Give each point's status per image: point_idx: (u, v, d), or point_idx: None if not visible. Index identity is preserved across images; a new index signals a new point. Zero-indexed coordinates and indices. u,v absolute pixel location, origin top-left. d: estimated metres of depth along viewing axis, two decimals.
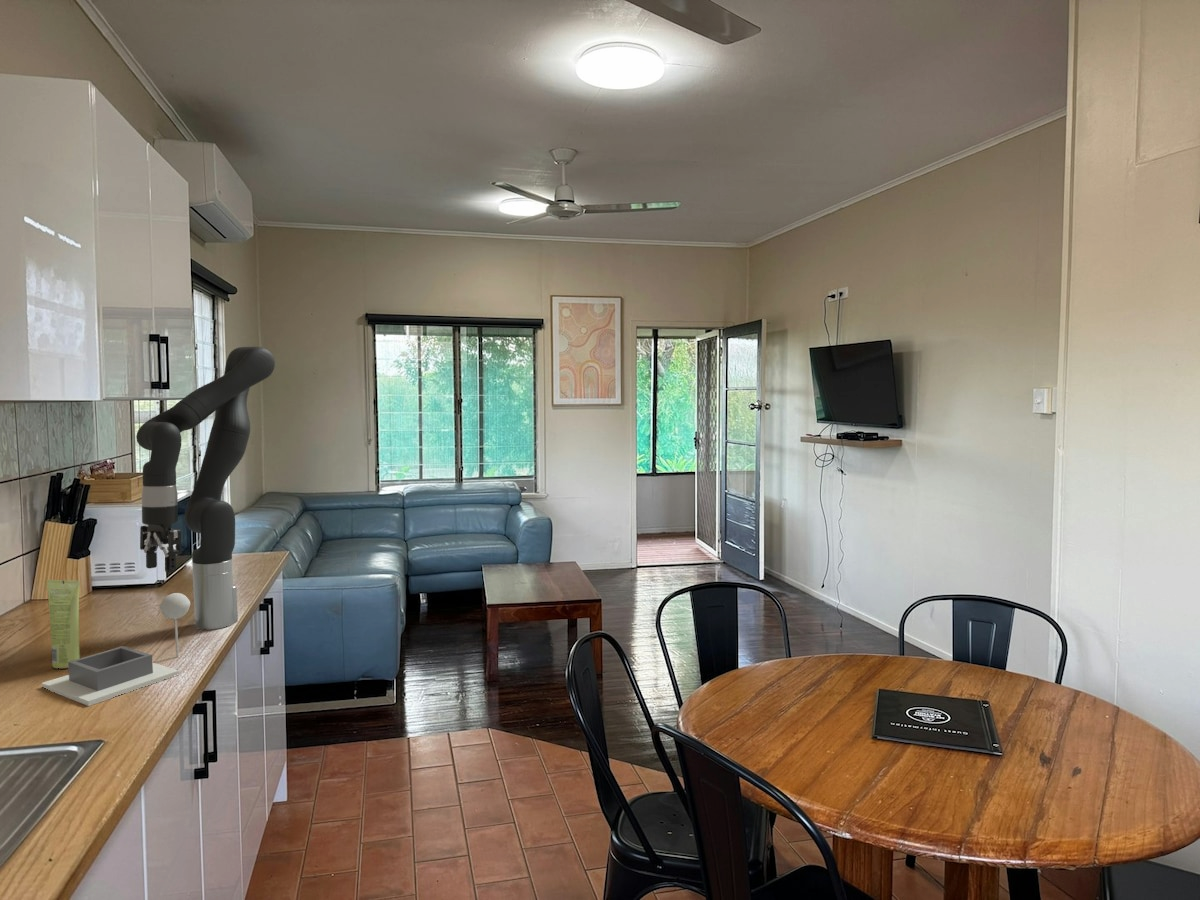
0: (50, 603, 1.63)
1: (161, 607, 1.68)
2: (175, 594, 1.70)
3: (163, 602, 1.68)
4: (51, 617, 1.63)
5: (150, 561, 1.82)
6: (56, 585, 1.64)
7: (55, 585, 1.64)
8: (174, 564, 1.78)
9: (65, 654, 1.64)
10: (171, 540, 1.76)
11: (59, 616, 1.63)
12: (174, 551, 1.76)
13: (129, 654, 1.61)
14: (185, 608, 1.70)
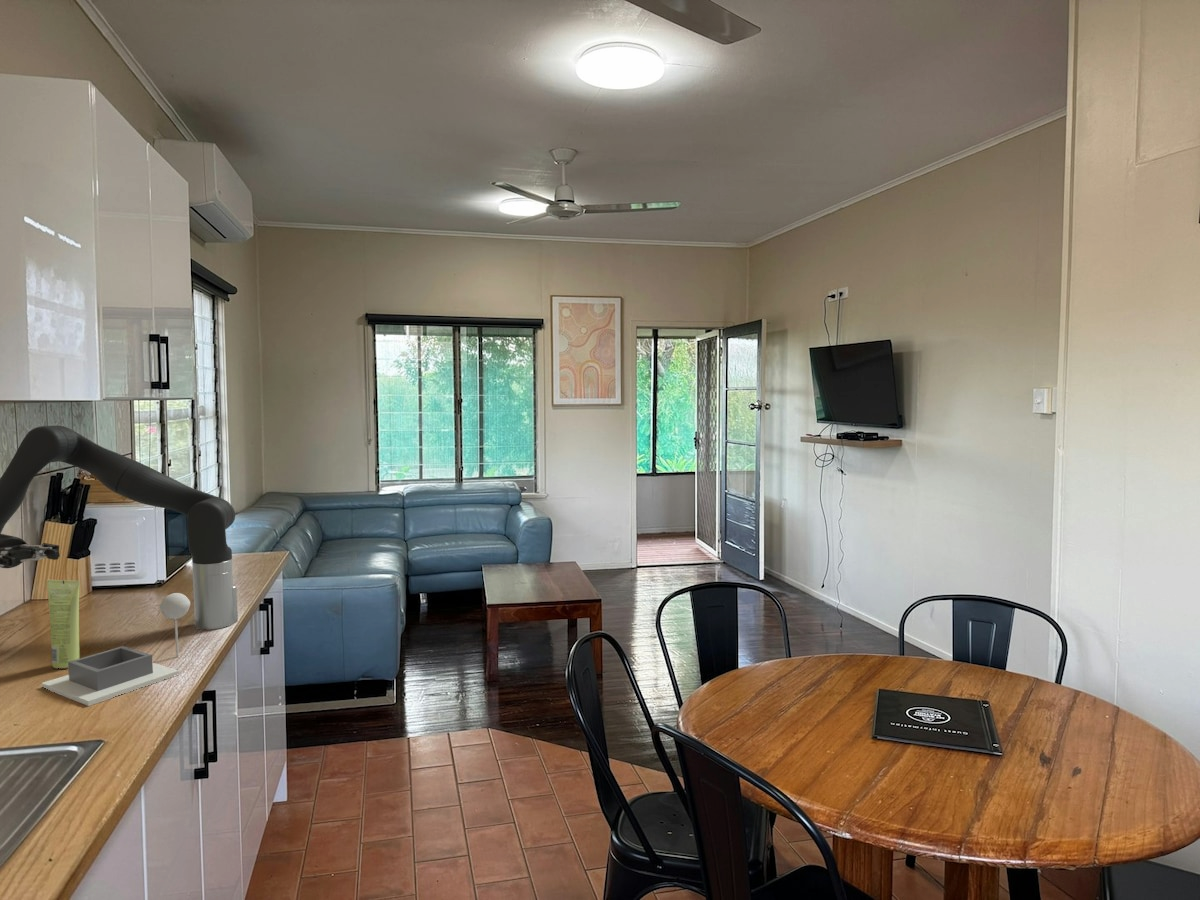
0: (50, 603, 1.63)
1: (161, 607, 1.68)
2: (175, 594, 1.70)
3: (163, 602, 1.68)
4: (51, 617, 1.63)
5: (51, 556, 1.73)
6: (56, 585, 1.64)
7: (55, 585, 1.64)
8: (3, 560, 1.65)
9: (65, 654, 1.64)
10: None
11: (59, 616, 1.63)
12: None
13: (129, 654, 1.61)
14: (185, 608, 1.70)
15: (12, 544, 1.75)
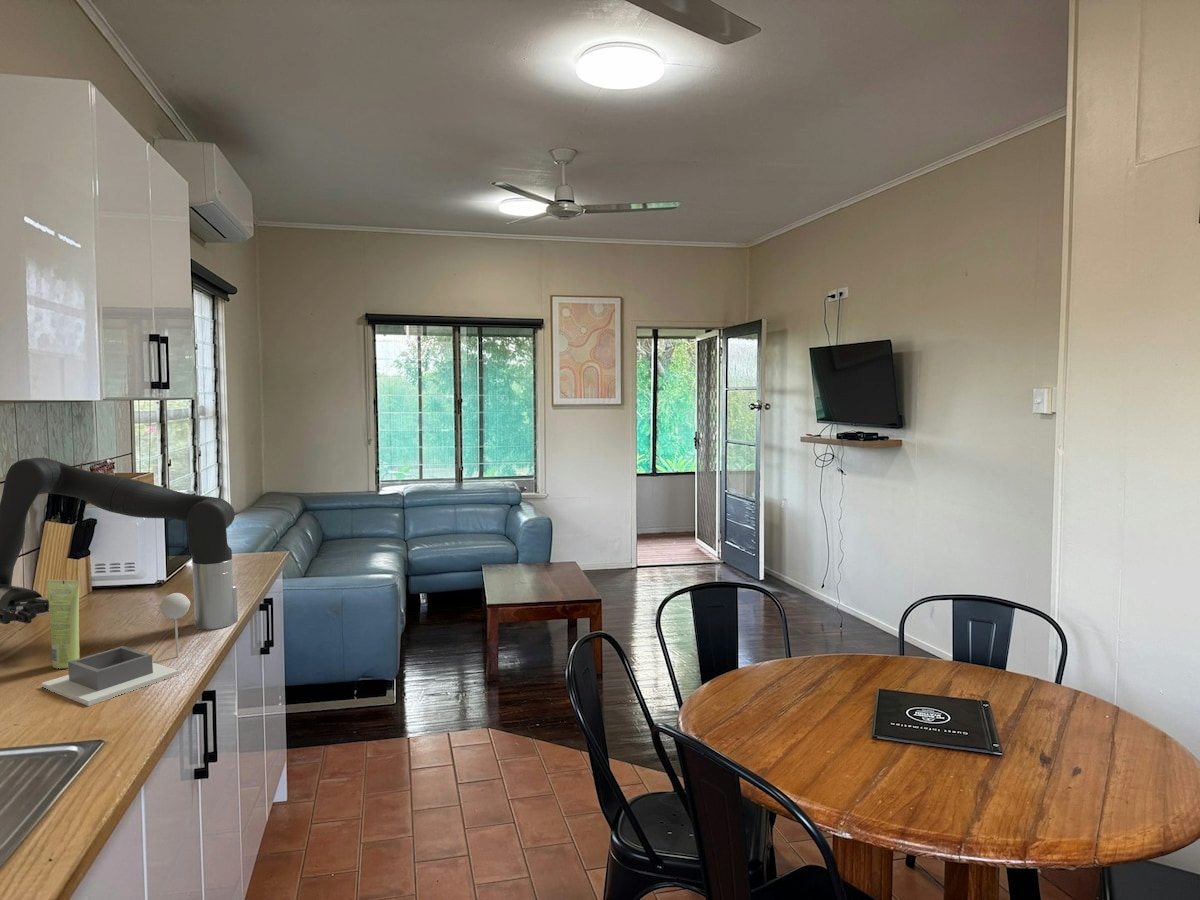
0: (50, 603, 1.63)
1: (161, 607, 1.68)
2: (175, 594, 1.70)
3: (163, 602, 1.68)
4: (51, 617, 1.63)
5: None
6: (56, 585, 1.64)
7: (55, 584, 1.64)
8: (19, 616, 1.64)
9: (65, 654, 1.64)
10: None
11: (59, 616, 1.63)
12: None
13: (129, 654, 1.61)
14: (185, 608, 1.70)
15: (27, 597, 1.73)
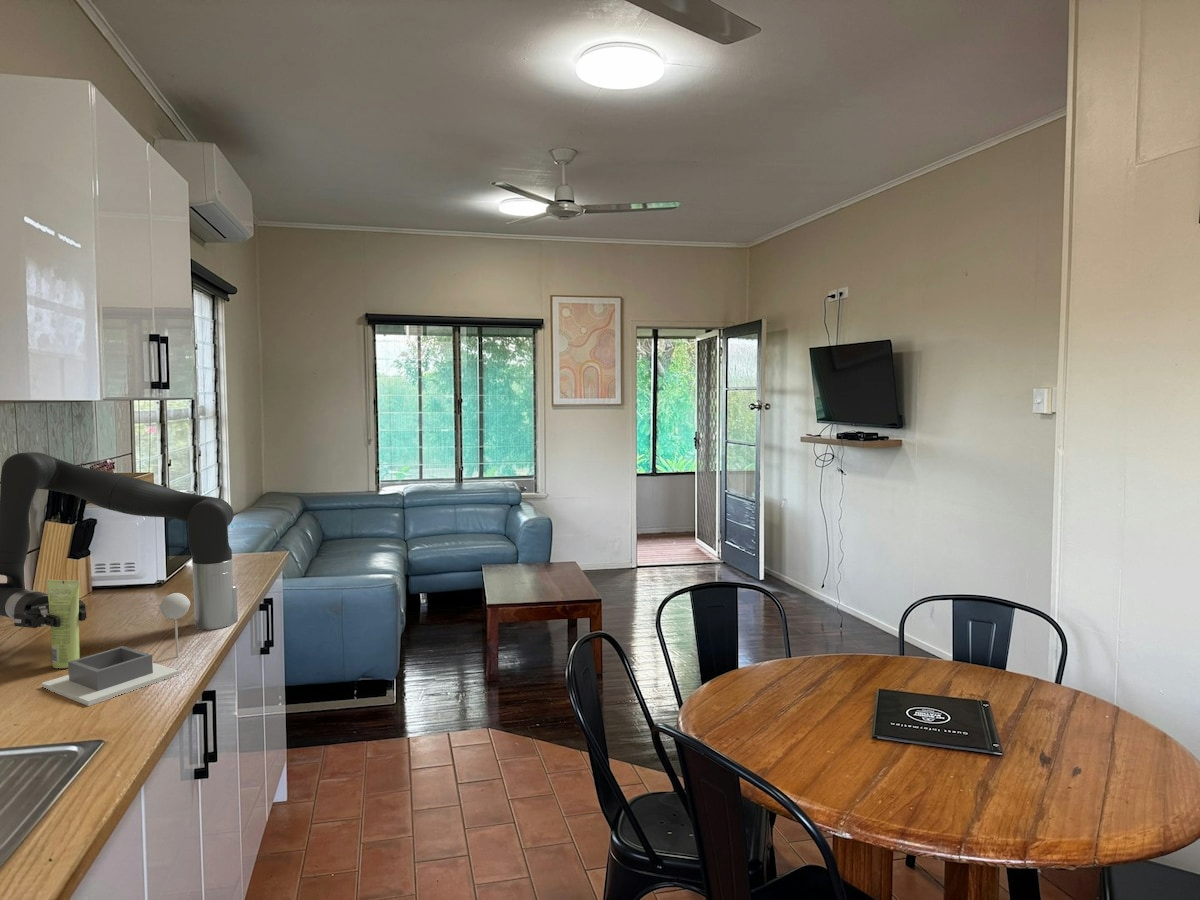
0: (50, 603, 1.63)
1: (161, 607, 1.68)
2: (175, 594, 1.70)
3: (163, 602, 1.68)
4: None
5: None
6: (56, 585, 1.64)
7: (55, 585, 1.64)
8: (48, 620, 1.61)
9: (65, 654, 1.64)
10: (21, 626, 1.62)
11: (59, 616, 1.63)
12: (31, 623, 1.61)
13: (129, 654, 1.61)
14: (185, 608, 1.70)
15: (44, 602, 1.70)
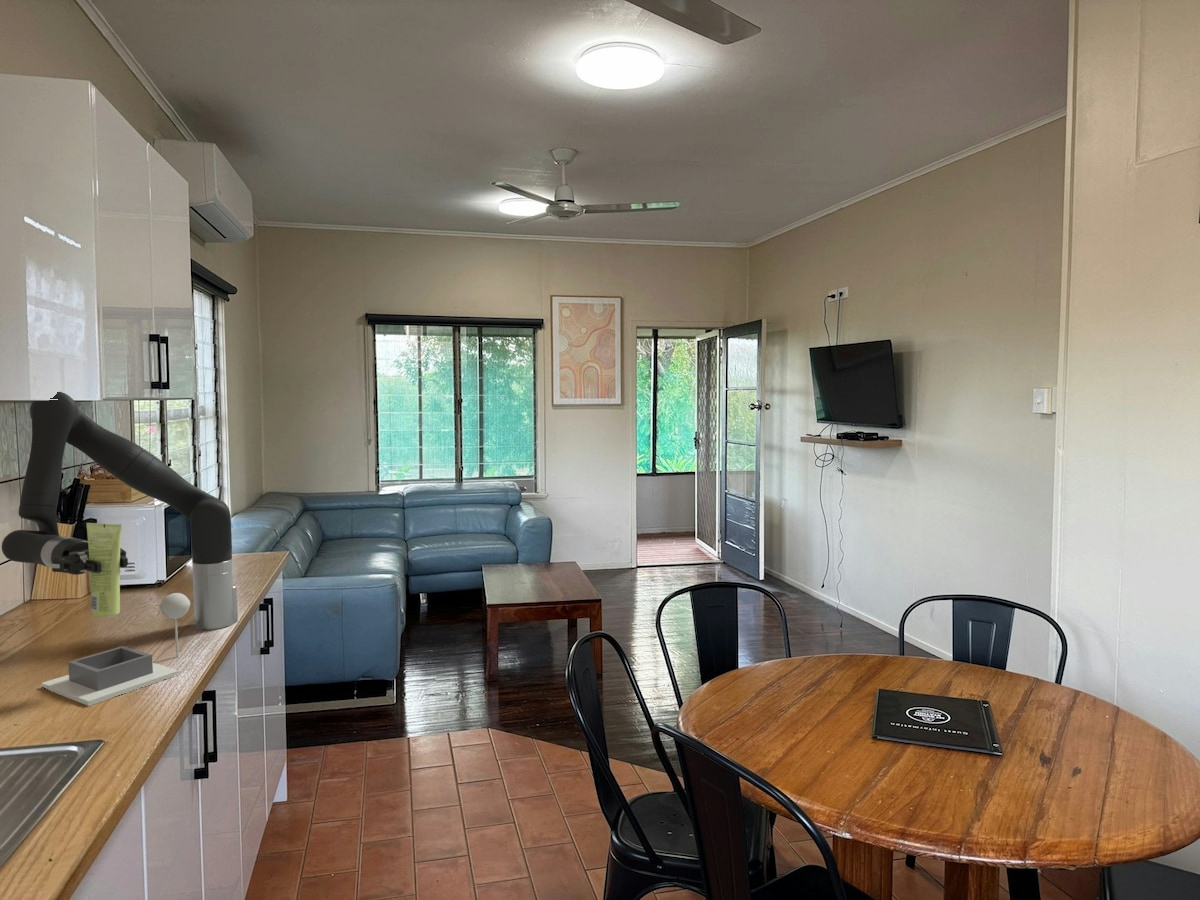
0: (90, 548, 1.53)
1: (161, 607, 1.68)
2: (175, 594, 1.70)
3: (163, 602, 1.68)
4: None
5: None
6: (96, 529, 1.54)
7: (96, 528, 1.54)
8: (88, 565, 1.51)
9: (106, 602, 1.54)
10: (60, 571, 1.52)
11: (100, 561, 1.53)
12: (71, 569, 1.51)
13: (129, 654, 1.61)
14: (185, 608, 1.70)
15: (82, 548, 1.60)
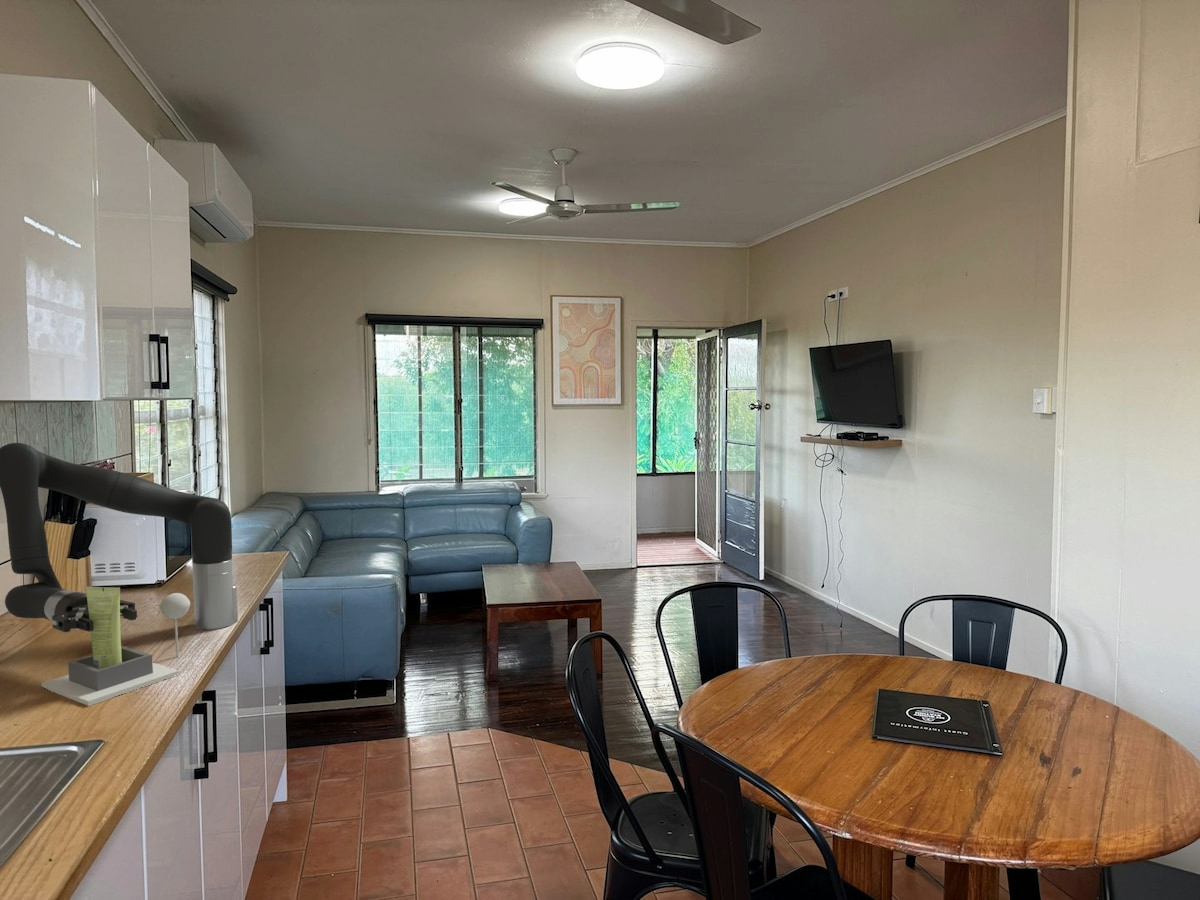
0: (90, 612, 1.54)
1: (161, 607, 1.68)
2: (175, 594, 1.70)
3: (163, 602, 1.68)
4: None
5: (128, 616, 1.59)
6: (96, 592, 1.55)
7: (95, 592, 1.55)
8: (80, 624, 1.51)
9: (108, 665, 1.54)
10: (57, 628, 1.53)
11: (100, 625, 1.54)
12: (63, 627, 1.51)
13: (129, 654, 1.61)
14: (185, 608, 1.70)
15: (85, 603, 1.61)
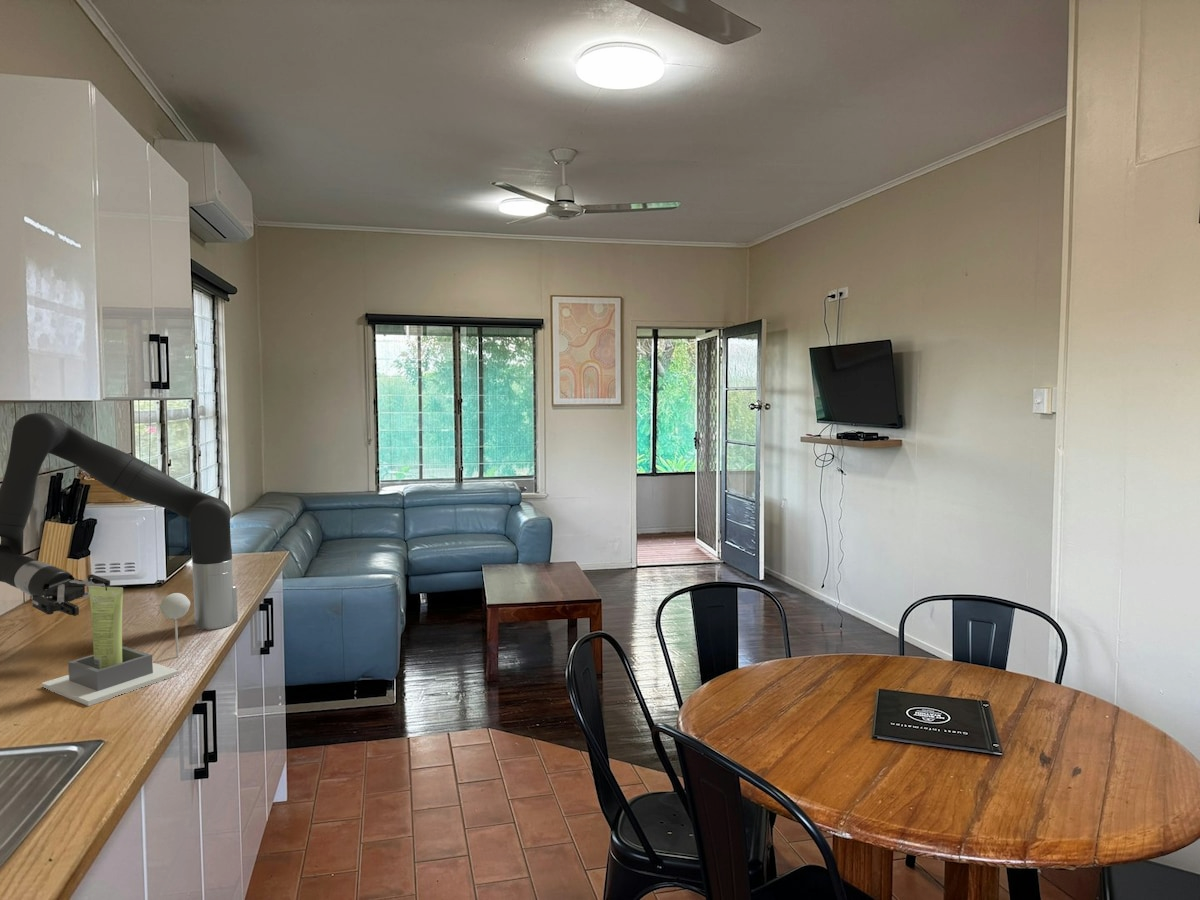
0: (93, 611, 1.55)
1: (161, 607, 1.68)
2: (175, 594, 1.70)
3: (163, 602, 1.68)
4: (93, 626, 1.55)
5: None
6: (99, 592, 1.55)
7: (98, 591, 1.55)
8: (65, 608, 1.60)
9: (108, 666, 1.55)
10: (38, 608, 1.61)
11: (102, 625, 1.54)
12: (47, 610, 1.60)
13: (129, 654, 1.61)
14: (185, 608, 1.70)
15: (60, 579, 1.68)
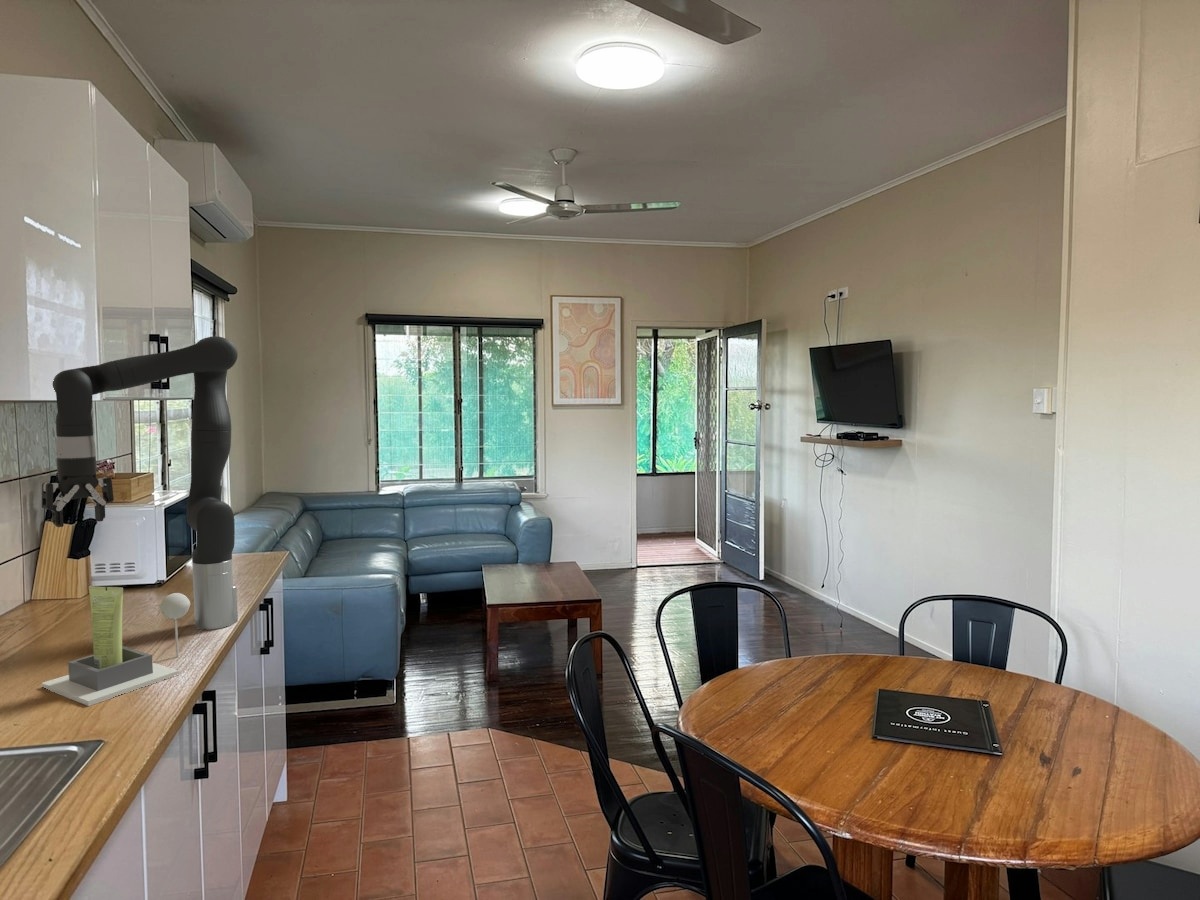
0: (93, 611, 1.55)
1: (161, 607, 1.68)
2: (175, 594, 1.70)
3: (163, 602, 1.68)
4: (93, 626, 1.55)
5: (96, 514, 1.77)
6: (99, 592, 1.55)
7: (98, 591, 1.55)
8: (54, 519, 1.69)
9: (108, 666, 1.55)
10: (42, 493, 1.68)
11: (102, 625, 1.54)
12: (43, 505, 1.68)
13: (129, 654, 1.61)
14: (185, 608, 1.70)
15: (83, 475, 1.72)
